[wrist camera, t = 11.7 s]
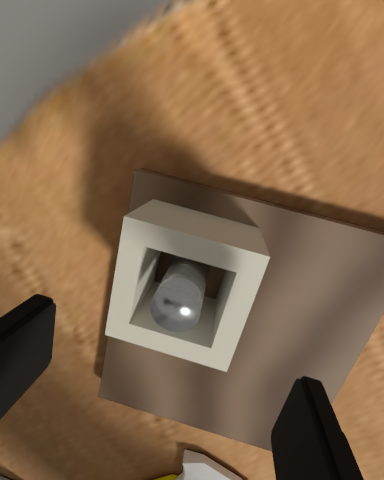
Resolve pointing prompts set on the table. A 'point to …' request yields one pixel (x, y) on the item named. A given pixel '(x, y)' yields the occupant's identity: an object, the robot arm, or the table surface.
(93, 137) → the table surface
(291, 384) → the board
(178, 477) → the spray bottle
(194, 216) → the collar
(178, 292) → the post
